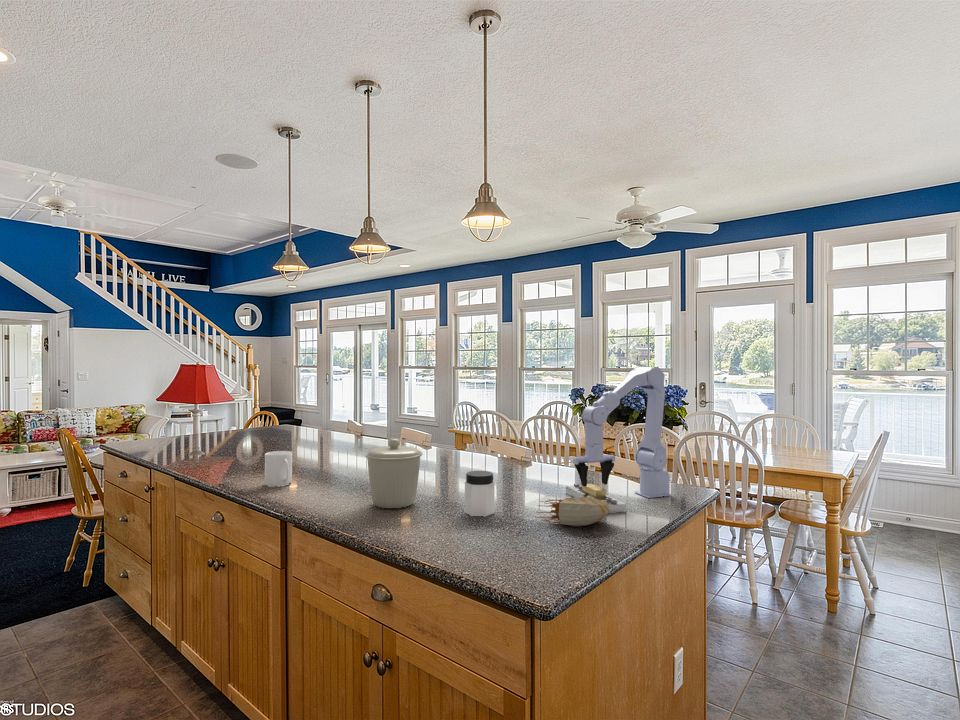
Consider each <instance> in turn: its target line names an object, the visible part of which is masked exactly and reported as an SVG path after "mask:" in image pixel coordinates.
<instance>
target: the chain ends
mask: <svg viewBox="0 0 960 720" xmlns="http://www.w3.org/2000/svg"><path fill="white" fill-rule="evenodd" d="M565 494H566V495H568V496H570V497H571V498H578V497H585V496H586V494H585V493H583V492H582V484H580V483H573V485H566V486H565ZM587 497H588V498H590V497H591V496H587ZM592 498H593V497H592ZM601 501H603V502H605V503H607V505H608V506H609V508H610V511H609V513H611V514H617V513H616V512H621V513H626V512H627V503H626V502H623V501H621V500H618V499H616V498H615V497H611V496H609V495H608V494H606V500H601Z"/></svg>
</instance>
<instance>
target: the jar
mask: <svg viewBox="0 0 960 720" xmlns="http://www.w3.org/2000/svg"><path fill="white" fill-rule="evenodd" d="M465 475H466V476H465V477H466V478H465V479H466V481H464V513H465V514H467V515H468V514H469V515H468V516H470V517H473V516H483V518H484V517H485V518H486V517H488V516H489V517H490V516H491V515H493V514H495V481H494V474H493V472H492V471H487V470H471V471H467V472H466V474H465Z"/></svg>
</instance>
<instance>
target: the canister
mask: <svg viewBox="0 0 960 720" xmlns="http://www.w3.org/2000/svg"><path fill="white" fill-rule="evenodd" d="M400 442H401V441H400V440H399V439H398V438H391V439H389V441H388V446H387V445H386V446H379V447H375V448H372V449H371V450H369V451H367V452H366V453H365V454H364V456H365V457H366V458H367V459H366V461H367V469H368V477H369V479H368V481H369V486H370V487H369V488H370V494H371V499H372V503H373V504H374V505H375V507H377V506H378V508H380V507H382V508H381V509H384V508H398V509H402V508H401V507H404V508H407V507H406V506H408V507H409V505H410V506H411V505H412V504H414V502H415V501H416V498H417V497H416V496H417V491H418V484H419V483H418V482H419V476H420V475H419V474H420V467H421V466H420V465H421V458H422V457H421V456H423V454H424V453H423V452H422V451H420V449H418V448H416V447H414V446H413V447H412V446H407V445H400Z"/></svg>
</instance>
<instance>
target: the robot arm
mask: <svg viewBox="0 0 960 720" xmlns="http://www.w3.org/2000/svg"><path fill="white" fill-rule="evenodd" d="M665 378H666V375H665V373H664V372H663V371H662V369H660V367H657V366H652V367H651V366H650V367H649V366H648V367H646V366H636V367H634V368H633V369H632V370H631V371H629V372H628V375H627V376H626V377H625V378H624V379H623V380H622V381H621V382H620V383H619V385H617V387H615V389H613V391H610V390H609V391H603V393H602V396H601V397H600V398H598V399H597V400H596V401H593V403H592V405H588V406H586V407H584V409H583V411H582V414H581V415H580V417H581V419H582V421H583V422H584V429H585V431H584V433H585V434H584V435H585V437H584V438H585V439H584V440H585V443H584V445H585V446H584V448H585V452H584V453H585V454H584V455H581V456H577V457H575V456H574V457H573V458H572V464H574V467H575V469H576V471H577V474H578V476H579V479H580V483H581V484H580V485H582V486H587V484H588V471H589V468H590V467H589V466H588V465H587V464H594V463H599V464H600V471H601V484H603V485H605V486H606V485H608V481H609V478H610V476H611V475H610V474H611V473H612V470H613V468H614V466H615V462H616V455H614V454H604V424H605V423H607V422H606V421H608V420H607V419H608V416H609V415H610V414H611V413H612V412H613V411H614V410H615V409H616V408H617V407H618V406H619V405H620V404H621V399H622V398H623V397H625V396H626V395H627V394H628V393H629V392H631V391H632V390H634V388H636V387H639V388H641V389H643V391H644V392H645V393H646V394H647V402H646V403H647V405H646V414H645V423H644V432H643V433H644V434H643V440H641V441H640V442H639V443H638V446H637V450H636V452H635V455H634V460H635V462H636V463H637V465H638V468H639V490H635V491H634V494H637V495H639V496H642V497H645V498H647V499H651V498H652V499H653V498H661V497H662V498H663V496H664V497H671V496H672V494H670V493H671V492H670V488H671V487H670V485H671V484H670V483H671V482H670V481H671V480H670V474H669V472H668V470H667V469H666V468H665V467H666V466H667V463H668V457H667V453H666V452H667V451H666V450H667V448H666V447H665V446H664V445H663V443H662V442H661V438H662V430H663V429H662V428H663V427H662V426H663V419H664V418H663V417H664V408H665V397H666V387H665Z"/></svg>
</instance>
